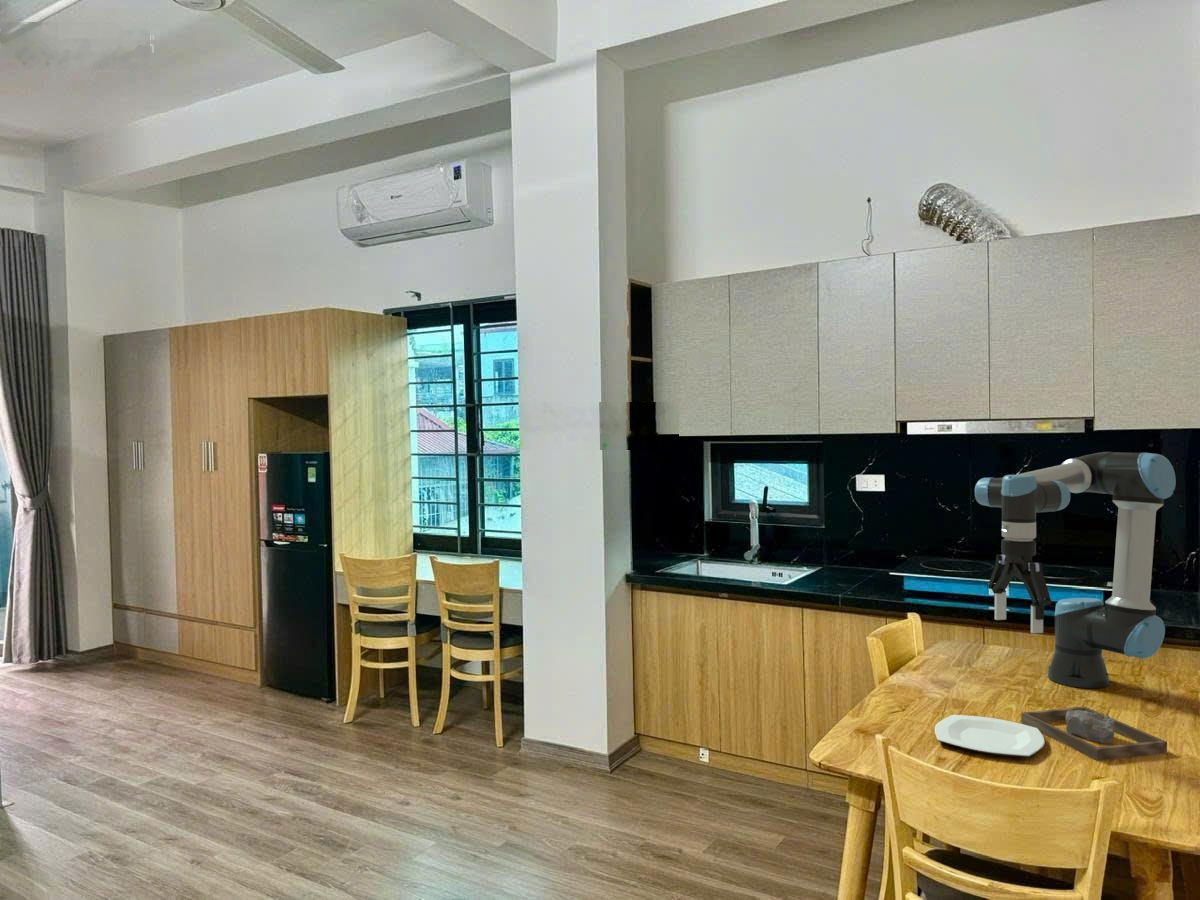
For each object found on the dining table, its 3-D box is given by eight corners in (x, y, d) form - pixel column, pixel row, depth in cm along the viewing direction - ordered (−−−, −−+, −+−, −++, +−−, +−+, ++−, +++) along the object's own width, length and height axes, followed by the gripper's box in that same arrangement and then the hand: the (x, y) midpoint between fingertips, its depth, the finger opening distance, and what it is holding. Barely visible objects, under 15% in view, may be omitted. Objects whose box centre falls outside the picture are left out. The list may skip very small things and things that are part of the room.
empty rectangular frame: (1084, 716, 214) (1084, 706, 214) (1166, 753, 191) (1167, 741, 191) (1021, 722, 211) (1021, 712, 210) (1097, 760, 187) (1097, 749, 187)
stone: (1114, 747, 195) (1113, 722, 194) (1064, 740, 200) (1064, 715, 200) (1115, 735, 201) (1114, 711, 201) (1066, 728, 207) (1066, 704, 207)
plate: (1039, 769, 184) (1039, 760, 184) (925, 749, 196) (925, 740, 196) (1049, 735, 203) (1049, 726, 203) (944, 718, 215) (944, 710, 215)
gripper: (973, 532, 220) (973, 615, 221) (1039, 547, 195) (1038, 639, 196) (1000, 531, 221) (999, 613, 222) (1068, 545, 197) (1068, 637, 198)
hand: (1018, 626), depth 209 cm, fingers open, 13 cm apart
